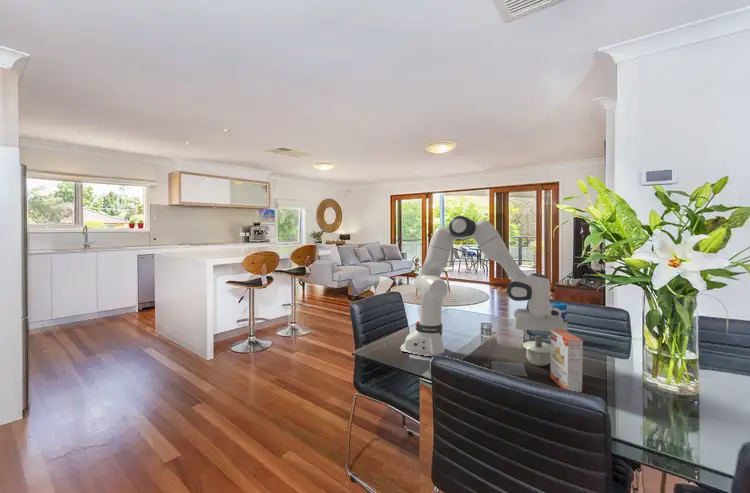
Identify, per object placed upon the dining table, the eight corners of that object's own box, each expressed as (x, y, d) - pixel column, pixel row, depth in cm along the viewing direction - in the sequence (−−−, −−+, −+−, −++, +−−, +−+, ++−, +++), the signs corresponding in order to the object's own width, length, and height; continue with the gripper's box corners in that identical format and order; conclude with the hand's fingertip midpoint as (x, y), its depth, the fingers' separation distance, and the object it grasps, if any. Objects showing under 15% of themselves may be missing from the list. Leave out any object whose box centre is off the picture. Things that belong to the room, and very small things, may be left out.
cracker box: (549, 378, 146) (550, 328, 145) (563, 378, 146) (564, 328, 145) (566, 394, 132) (567, 339, 131) (582, 394, 132) (584, 339, 131)
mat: (492, 373, 151) (492, 372, 151) (490, 361, 164) (490, 360, 164) (527, 377, 147) (527, 376, 147) (523, 364, 161) (523, 363, 161)
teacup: (528, 357, 169) (529, 341, 168) (553, 362, 162) (554, 345, 162) (521, 367, 157) (522, 349, 157) (548, 373, 151) (548, 354, 151)
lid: (525, 351, 155) (525, 340, 155) (520, 342, 167) (521, 331, 167) (557, 354, 152) (558, 342, 151) (550, 344, 164) (551, 333, 164)
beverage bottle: (547, 337, 198) (547, 302, 197) (561, 336, 199) (562, 301, 198) (556, 342, 190) (557, 305, 189) (571, 341, 191) (572, 305, 190)
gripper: (515, 310, 158) (514, 340, 159) (565, 312, 153) (564, 343, 154) (513, 306, 164) (513, 336, 165) (561, 309, 159) (561, 339, 160)
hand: (538, 339), depth 159 cm, fingers open, 8 cm apart
